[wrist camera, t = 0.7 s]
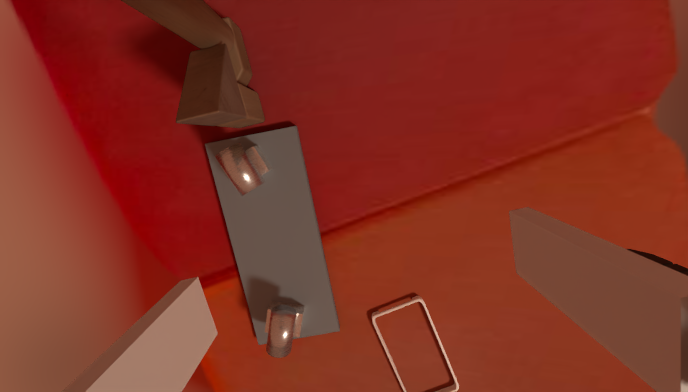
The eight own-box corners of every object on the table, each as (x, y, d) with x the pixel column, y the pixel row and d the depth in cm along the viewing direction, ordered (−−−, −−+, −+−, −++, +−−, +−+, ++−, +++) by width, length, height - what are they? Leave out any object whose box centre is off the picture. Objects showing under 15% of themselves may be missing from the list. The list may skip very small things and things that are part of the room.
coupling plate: (208, 143, 38) (204, 143, 37) (296, 126, 38) (295, 125, 37) (260, 340, 43) (258, 344, 42) (339, 326, 43) (339, 331, 42)
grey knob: (272, 294, 41) (262, 315, 36) (305, 299, 41) (300, 321, 36) (267, 329, 42) (257, 354, 37) (300, 333, 42) (294, 359, 37)
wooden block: (237, 128, 38) (144, 121, 20) (210, 35, 36) (80, -63, 18) (266, 121, 38) (198, 108, 20) (240, 27, 36) (140, -79, 18)
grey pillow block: (223, 158, 38) (205, 161, 33) (253, 139, 37) (240, 139, 32) (246, 193, 38) (232, 202, 34) (277, 175, 38) (267, 180, 33)
